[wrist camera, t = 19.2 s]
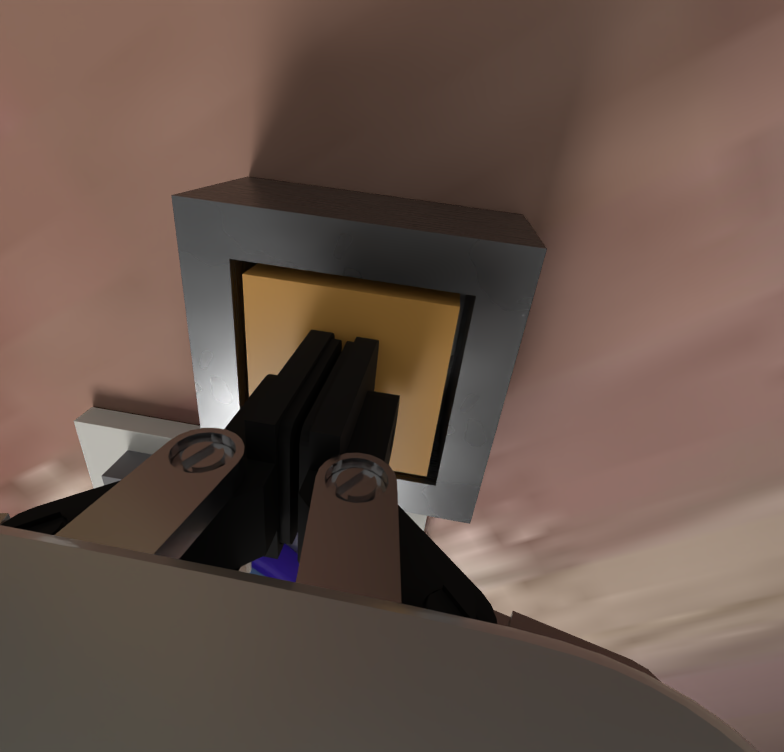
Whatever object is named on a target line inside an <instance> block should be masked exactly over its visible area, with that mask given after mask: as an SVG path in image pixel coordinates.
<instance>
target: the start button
mask: <svg viewBox="0 0 784 752" xmlns="http://www.w3.org/2000/svg"><path fill="white" fill-rule="evenodd" d="M242 278H243V296H244V314H245V332H246V350H247V368H248V386H249V397H250V395H251V394H252V393H253V392H254V390H255V389H256V388H257V387H258V385H259V384H260V383H261V381H262V380H263V379H264V378H265V377H266V376H267V375H268V374H274V375H278V373H279V372H280V371H281V369H282V368H283V367H284V365H285V364H286V363H287V361H288V360H289V359H290V357H291V356H292V355H293V353H294V352H295V350H296V349H297V348H298V346H299V345H300V344H301V342H302V341H303V340H304V338H305V337H306V336H307V334H308V333H309V331H310V330H311V329H312V330H318V331H325V332H331V333H334V335H335V339H338V340H341V341H342V350H343V348H344V346H345V344H346V342H347V341H351V342H354V341H355V339H356V337H362V338H369V339H375V340H379V351H378V360H377V369H376V379H375V388H374V391H376V392H382V393H388V394H394V395H400V401H399V409H398V416H397V423H396V429H395V435H394V441H393V447H392V452H391V457H390V462H389V466H390V467H391V468H392V470H393V471H398V472H403V473H409V474H415V475H420V476H426V477H427V472H428V467H429V462H430V457H431V452H432V447H433V442H434V437H435V432H436V427H437V422H438V416H439V411H440V406H441V401H442V396H443V391H444V386H445V381H446V376H447V371H448V366H449V361H450V356H451V350H452V345H453V340H454V335H455V330H456V325H457V320H458V315H459V310H460V293H454V292H447V291H440V290H434V289H427V288H420V287H414V286H407V285H400V284H394V283H387V282H380V281H374V280H367V279H361V278H354V277H347V276H341V275H334V274H327V273H321V272H314V271H307V270H301V269H294V268H287V267H281V266H274V265H267V264H261V263H258V264H256V265H255V266H253V267H252V268H250V269H249V270H247V271H246V272H244V273H243V274H242Z"/></svg>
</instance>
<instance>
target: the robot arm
mask: <svg viewBox="0 0 784 752" xmlns="http://www.w3.org/2000/svg"><path fill="white" fill-rule="evenodd" d="M378 351H379V340H375V339H369V338H362V337H356V339H355V341H354V342H351V341H347V342H346V344H345V346H344V348H343V350H342V341H341V340H338V339H335V335H334V333H331V332H325V331H318V330H312V329H311V330H310V331H309V333H308V334H307V336H306V337H305V338H304V340H303V341H302V342H301V344H300V345H299V346H298V348H297V349H296V350H295V352H294V353H293V355H292V356H291V357H290V359H289V360H288V361H287V363H286V364H285V365H284V367H283V368H282V369H281V371H280V372H279V373H278V375H274V374H268V375H267V376H266V377H265V378H264V379H263V380H262V381H261V383H260V384H259V385H258V387H257V388H256V389H255V390H254V392H253V393H252V394H251V395H250V397H249V398H248V399H247V401H246V402H245V403H244V404H243V406H242V407H241V408H240V410H239V411H238V412H237V413H236V415H235V416H234V417H233V419H232V420H231V421H230V422H229V424H228V425H227V426H226V427H225V429H220V428H200V429H195V430H190V431H187V432H185V433H182V434H179V435H178V436H176V437H174V438H173V439H171V440H170V441H168V442H167V443H166V444H165V445H163V446H162V447H161V448H160V449H159V450H157V451H156V452H155V453H154V454H152V455H151V456H150V457H149V458H148V459H146V460H145V461H144V462H143V463H141V464H140V465H139V466H138V467H137V468H135V469H134V470H133V471H132V472H131V473H129V474H128V475H127V476H126V477H124V478H123V479H122V480H120V481H116V482H113V483H110V484H107V485H104V486H101V487H97V488H94V489H91V490H88V491H85V492H81V493H78V494H75V495H72V496H69V497H66V498H62V499H59V500H56V501H53V502H50V503H47V504H43V505H40V506H37V507H34V508H32V509H29V510H27V511H24V512H22V513H19V514H17V515H16V516H14V517H12V518H11V519H10V516H9V514H8V513H0V752H759V751H758V750H757V749H756V748H755V747H754V746H753V745H751V744H750V743H749V742H748V741H747V740H746V739H745V738H744V737H743V736H742V735H741V734H739V733H738V732H737V731H735V730H734V729H733V728H731V727H730V726H729V725H727V724H726V723H725V722H724V721H722V720H721V719H720V718H718V717H717V716H716V715H714V714H713V713H711V712H710V711H708V710H707V709H705V708H704V707H702V706H701V705H699V704H698V703H696V702H695V701H693V700H692V699H690V698H688V697H686V696H685V695H683V694H681V693H679V692H678V691H676V690H674V689H672V688H671V687H669V686H667V685H665V684H663V683H662V682H661V681H660V680H659V679H657V678H656V677H655V676H654V675H653V674H652V673H651V672H650V671H649V670H648V669H646V668H645V667H643V666H641V665H640V664H638V663H636V662H634V661H633V660H631V659H629V658H626V657H624V656H621V655H619V654H616V653H614V652H612V651H609V650H607V649H604V648H602V647H599V646H597V645H595V644H592V643H590V642H587V641H585V640H583V639H580V638H578V637H575V636H573V635H570V634H568V633H566V632H563V631H561V630H558V629H556V628H554V627H551V626H549V625H546V624H544V623H541V622H539V621H537V620H534V619H532V618H529V617H527V616H525V615H522V614H520V613H517V612H515V611H513V612H512V614H511V617H509V616H507V615H504V614H502V613H499V612H497V611H495V610H493V608H492V606H491V604H490V603H489V601H488V600H487V599H486V597H485V596H484V594H483V593H482V592H481V591H480V590H479V589H478V588H477V587H476V586H475V585H474V584H473V583H472V582H471V580H470V579H469V578H468V577H467V576H466V575H465V574H464V573H463V572H462V571H461V570H460V569H459V568H458V567H457V566H456V565H455V564H454V563H453V562H452V561H451V560H450V558H449V557H448V556H447V555H446V554H445V553H444V552H443V551H442V550H441V549H440V548H439V547H438V546H437V545H436V544H435V543H434V542H433V541H432V540H431V539H430V538H429V536H428V535H427V534H426V533H425V532H424V531H423V530H422V529H421V528H420V527H419V526H418V525H417V524H416V523H415V522H414V521H413V520H412V519H411V518H410V517H409V516H408V514H407V513H406V512H405V511H404V510H403V509H402V508H401V507H400V506H399V505H398V490H397V479H396V475H395V473H394V471H393V470H392V468H391V467H390V466H389V462H390V457H391V452H392V447H393V441H394V435H395V429H396V423H397V416H398V409H399V401H400V395H394V394H388V393H382V392H376V391H374V388H375V379H376V369H377V360H378ZM297 533H298V563H299V568H298V573H297V578H296V582H291V581H286V580H281V579H276V578H271V577H266V576H261V575H256V574H251V573H250V572H251V568H252V561H254V560H256V559H258V558H261V557H263V556H264V557H269V558H274V559H278V557H279V555H280V553H281V550H282V548H283V546H284V544H290V545H291V544H293V542H294V540H295V538H296V535H297Z"/></svg>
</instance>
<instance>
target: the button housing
mask: <svg viewBox="0 0 784 752" xmlns="http://www.w3.org/2000/svg"><path fill="white" fill-rule="evenodd" d="M172 203H173V211H174V219H175V227H176V236H177V244H178V252H179V260H180V268H181V276H182V284H183V292H184V300H185V308H186V316H187V324H188V332H189V340H190V348H191V356H192V364H193V372H194V380H195V388H196V396H197V404H198V412H199V420H200V428H220V429H225V427H226V426H227V425H228V424H229V422H230V421H231V420H232V419H233V417H234V416H235V415H236V413H237V412H238V411H239V410H240V408H241V407H242V406H243V404H244V403H245V402H246V401H247V399H248V398H249V386H248V368H247V350H246V332H245V314H244V296H243V278H242V274H243V273H244V272H246V271H247V270H249V269H250V268H252V267H253V266H255V265H256V264H258V263H261V264H267V265H274V266H281V267H287V268H294V269H301V270H307V271H314V272H321V273H327V274H334V275H341V276H347V277H354V278H361V279H367V280H374V281H380V282H387V283H394V284H400V285H407V286H414V287H420V288H427V289H434V290H440V291H447V292H454V293H460V310H459V315H458V320H457V325H456V330H455V335H454V340H453V345H452V350H451V356H450V361H449V366H448V371H447V376H446V381H445V386H444V391H443V396H442V401H441V406H440V411H439V416H438V422H437V427H436V432H435V437H434V442H433V447H432V452H431V457H430V462H429V467H428V472H427V477H426V476H420V475H415V474H409V473H403V472H398V471H394V473H395V475H396V479H397V490H398V505H399V506H400V507H401V508H402V509H403V510H404V511H405V512H409V513H414V514H420V515H425V516H431V517H436V518H442V519H447V520H453V521H458V522H464V523H470V522H471V518H472V515H473V511H474V508H475V504H476V501H477V497H478V493H479V490H480V486H481V483H482V479H483V475H484V472H485V468H486V465H487V461H488V458H489V454H490V450H491V447H492V443H493V440H494V436H495V433H496V429H497V425H498V422H499V418H500V415H501V411H502V408H503V404H504V400H505V397H506V393H507V390H508V386H509V382H510V379H511V375H512V372H513V368H514V365H515V361H516V357H517V354H518V350H519V347H520V343H521V340H522V336H523V332H524V329H525V325H526V322H527V318H528V315H529V311H530V307H531V304H532V300H533V297H534V293H535V289H536V286H537V282H538V279H539V275H540V272H541V268H542V264H543V261H544V257H545V254H546V250H547V248H546V247H545V245H544V244H543V242H542V241H541V240H540V238H539V237H538V235H537V234H536V232H535V231H534V229H533V228H532V227H531V225H530V224H529V222H528V221H527V219H526V218H525V216H524V215H521V214H514V213H507V212H500V211H492V210H485V209H478V208H471V207H464V206H456V205H449V204H442V203H435V202H427V201H420V200H413V199H406V198H399V197H391V196H384V195H377V194H370V193H363V192H355V191H348V190H341V189H334V188H326V187H319V186H312V185H305V184H298V183H290V182H283V181H276V180H269V179H262V178H254V177H244V178H240V179H236V180H232V181H228V182H223V183H219V184H215V185H211V186H207V187H203V188H199V189H195V190H191V191H187V192H183V193H178V194H174V195H172Z"/></svg>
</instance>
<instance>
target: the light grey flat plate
mask: <svg viewBox="0 0 784 752" xmlns="http://www.w3.org/2000/svg"><path fill="white" fill-rule="evenodd" d="M74 424H75V427H76V430H77V434H78V437H79V441H80V444H81V447H82V451H83V454H84V458H85V461H86V464H87V468H88V471H89V475H90V478H91V481H92V485H93V488H97V487H101V486H104V485H107V484H110V483H113V482H116V481H120V480H122V479H123V478H124V477H126V476H127V475H128V474H129V473H131V472H132V471H133V470H134V469H135V468H137V467H138V466H139V465H140V464H141V463H143V462H144V461H145V460H146V459H148V458H149V457H150V456H151V455H152V454H154V453H155V452H156V451H157V450H159V449H160V448H161V447H162V446H163V445H165V444H166V443H167V442H168V441H170V440H171V439H173V438H174V437H176V436H178V435H179V434H182V433H185V432H187V431H190V430H195V429H200V426H198V425H192V424H187V423H181V422H175V421H170V420H164V419H158V418H152V417H147V416H141V415H135V414H129V413H124V412H118V411H112V410H107V409H101V408H95V407H91V408H90V409H89V410H87V411H86V412H85V413H84V414H82V415H81V416H80V417H78V418H77V419H76V420H74ZM406 513H407V514H408V516H409V517H410V518H411V519H412V520H413V521H414V522H415V523H416V524H417V525H418V526H419V527H420V528H421V529H422V530H423V531H424V528H425V523H426V518H427V516H425V515H420V514H414V513H409V512H406ZM286 545H288V546H289V547H291V548H292V549H293V550H294V551H295V552H296V553H297V554H298V533H297V535H296V538H295V540H294V542H293V544H291V545H290V544H286Z"/></svg>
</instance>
